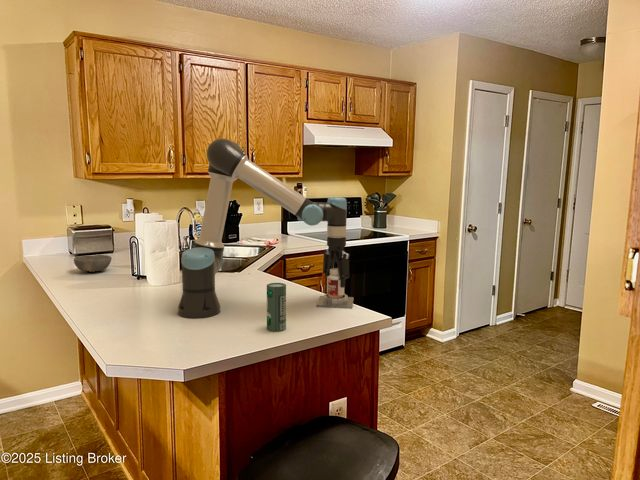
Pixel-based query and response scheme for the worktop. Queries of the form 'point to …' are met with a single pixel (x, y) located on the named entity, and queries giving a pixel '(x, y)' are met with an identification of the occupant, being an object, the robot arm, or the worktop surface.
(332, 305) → the duct flange
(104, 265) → the bowl
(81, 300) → the worktop surface
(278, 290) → the can
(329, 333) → the worktop surface
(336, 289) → the pill bottle
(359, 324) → the worktop surface
